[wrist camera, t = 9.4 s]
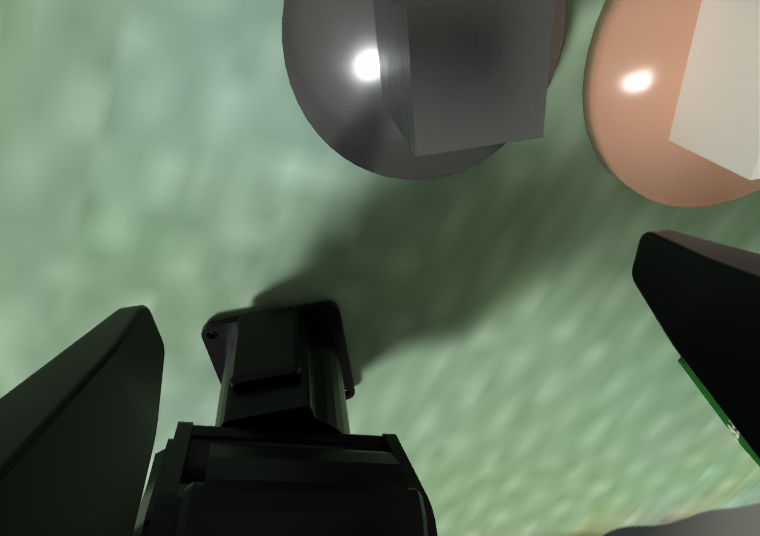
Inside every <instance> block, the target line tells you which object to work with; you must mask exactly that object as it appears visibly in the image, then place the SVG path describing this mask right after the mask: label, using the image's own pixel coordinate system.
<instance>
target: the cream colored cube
mask: <svg viewBox="0 0 760 536" xmlns="http://www.w3.org/2000/svg"><path fill="white" fill-rule="evenodd" d="M669 141H671V142H673V143H675V144H677V145H679V146H681V147H683V148H685V149H688V150H690V151H692V152H694V153H696V154H698V155H700V156H702V157H704V158H706V159H708V160H710V161H712V162H714V163H716V164H718V165H720V166H722V167H724V168H726V169H728V170H730V171H732V172H734V173H736V174H738V175H740V176H742V177H744V178H746V179H748V180H755V179H760V0H702V2H701V6H700V11H699V15H698V19H697V23H696V27H695V32H694V36H693V40H692V44H691V48H690V52H689V57H688V61H687V65H686V69H685V73H684V78H683V82H682V86H681V90H680V94H679V98H678V103H677V107H676V111H675V115H674V119H673V124H672V128H671V132H670V136H669Z"/></svg>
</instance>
